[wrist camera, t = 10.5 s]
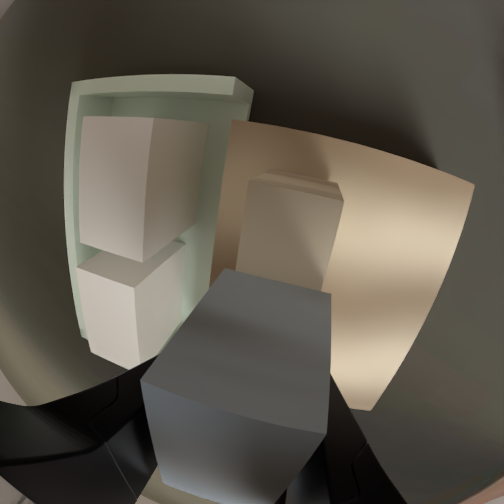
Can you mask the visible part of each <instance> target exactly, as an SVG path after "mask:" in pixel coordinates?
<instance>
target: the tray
mask: <svg viewBox="0 0 504 504" xmlns="http://www.w3.org/2000/svg"><path fill="white" fill-rule="evenodd" d="M253 94H254V90H253V89H251V88H250V87H249V86H247V85H246V84H245V83H243V82H242V81H241V80H239V79H238V78H236V77H230V76H216V75H194V74H153V75H131V76H118V77H107V78H98V79H89V80H82V81H75V82H72V85H71V92H70V99H69V107H68V116H67V126H66V139H65V157H64V210H65V229H66V242H67V252H68V262H69V270H70V277H71V284H72V291H73V297H74V302H75V308H76V313H77V318H78V323H79V328H80V332H81V336H82V337H84V338H86V339H88V336H87V332H86V327H85V322H84V317H83V311H82V306H81V300H80V294H79V287H78V280H77V272H76V267H77V266H78V265H80V264H82V263H83V262H85V261H86V260H88V259H90V258H91V257H93V256H94V255H96V254H98V253H99V252H101V251H103V250H101V249H98V248H95V247H92V246H89V245H86V244H83V243H80V231H79V162H80V146H81V133H82V123H83V116H116V117H144V118H160V119H173V120H184V121H193V122H202V123H209V129H208V135H207V141H206V148H205V154H204V161H203V168H202V175H201V183H200V190H199V198H198V207H197V215H196V224H194V225H193V226H192V227H190V228H189V229H188V230H186V231H185V232H183V233H182V234H181V235H179V236H178V237H177V238H175V239H174V240H173V241H177V242H181V243H185V244H186V250H185V265H184V281H183V301H182V321H181V322H180V324H179V325H178V326H177V328H176V329H175V330H174V332H173V333H172V335H171V336H170V337H169V339H168V340H167V341H166V343H165V344H164V345H163V347H162V348H161V350H160V351H159V352H158V354H160V353H161V351H162V350H163V349H164V347H165V346H166V345H167V344H168V342H169V341H170V340H171V338H172V337H173V336H174V334H175V333H176V332H177V330H178V329H179V328H180V326H181V325H182V324H183V322H184V321H185V320H186V318H187V317H188V316H189V315H190V313H191V312H192V311H193V309H194V308H195V307H196V305H197V304H198V303H199V301H200V300H201V299H202V297H203V296H204V295H205V294H206V292H207V291H208V290H209V283H210V274H211V265H212V257H213V248H214V240H215V232H216V224H217V217H218V209H219V202H220V195H221V187H222V180H223V173H224V167H225V160H226V153H227V147H228V141H229V134H230V128H231V122H232V119H235V120H242V121H249V116H250V111H251V105H252V99H253ZM158 354H157V355H158Z"/></svg>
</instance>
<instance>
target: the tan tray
mask: <svg viewBox="0 0 504 504" xmlns="http://www.w3.org/2000/svg"><path fill="white" fill-rule="evenodd" d="M271 169H275V170H280V171H285V172H290V173H295V174H300V175H305V176H309V177H314V178H318V179H323V180H327V181H331V182H336V183H338V186H339V188H340V191H341V194H342V196H343V199H344V205H343V210H342V214H341V218H340V222H339V226H338V230H337V234H336V238H335V242H334V245H333V249H332V253H331V257H330V260H329V264H328V268H327V271H326V275H325V278H324V282H323V285H322V289H321V291H322V292H326V293H331V368H330V373H331V375H332V377H333V379H334V381H335V383H336V384H337V386H338V388H339V390H340V392H341V394H342V395H343V397H344V399H345V401H346V403H347V405H348V407H349V408H354V409H361V410H369V411H371V409H372V408H373V406H374V405H375V404H376V402H377V401H378V399H379V398H380V396H381V395H382V393H383V392H384V390H385V389H386V387H387V386H388V384H389V382H390V381H391V379H392V378H393V376H394V375H395V373H396V371H397V370H398V368H399V366H400V365H401V363H402V361H403V360H404V358H405V356H406V354H407V353H408V351H409V349H410V347H411V346H412V344H413V342H414V340H415V338H416V336H417V334H418V333H419V331H420V329H421V327H422V325H423V323H424V321H425V319H426V317H427V315H428V313H429V311H430V309H431V306H432V304H433V302H434V300H435V298H436V296H437V293H438V291H439V289H440V287H441V284H442V282H443V279H444V277H445V275H446V272H447V270H448V267H449V265H450V262H451V260H452V257H453V254H454V252H455V249H456V246H457V243H458V240H459V237H460V234H461V231H462V228H463V225H464V222H465V219H466V216H467V212H468V209H469V205H470V202H471V198H472V194H473V191H474V187H475V185H474V184H472V183H469V182H467V181H465V180H462V179H460V178H457V177H455V176H453V175H450V174H447V173H445V172H442V171H440V170H437V169H434V168H432V167H429V166H426V165H423V164H421V163H418V162H415V161H412V160H409V159H406V158H403V157H400V156H397V155H394V154H390V153H387V152H384V151H381V150H377V149H374V148H370V147H367V146H363V145H360V144H356V143H352V142H348V141H344V140H340V139H336V138H332V137H328V136H324V135H319V134H315V133H310V132H305V131H301V130H296V129H290V128H285V127H280V126H274V125H268V124H262V123H256V122H249V121H242V120H235V119H232V122H231V128H230V134H229V141H228V147H227V153H226V160H225V167H224V173H223V180H222V187H221V195H220V202H219V209H218V217H217V224H216V232H215V240H214V248H213V257H212V265H211V274H210V283H209V288H210V287H211V286H212V284H213V283H214V282H215V281H216V279H217V278H218V277H219V275H220V274H221V273H222V271H223V270H224V269H225V268H226V269H230V270H234V271H235V269H236V262H237V255H238V248H239V242H240V235H241V228H242V221H243V214H244V208H245V201H246V194H247V188H248V181H249V180H251V179H253V178H255V177H257V176H259V175H261V174H263V173H265V172H267V171H269V170H271Z"/></svg>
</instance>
